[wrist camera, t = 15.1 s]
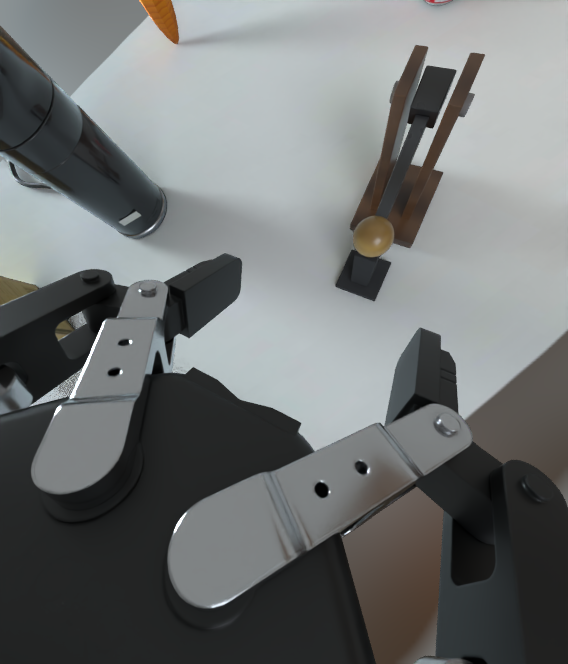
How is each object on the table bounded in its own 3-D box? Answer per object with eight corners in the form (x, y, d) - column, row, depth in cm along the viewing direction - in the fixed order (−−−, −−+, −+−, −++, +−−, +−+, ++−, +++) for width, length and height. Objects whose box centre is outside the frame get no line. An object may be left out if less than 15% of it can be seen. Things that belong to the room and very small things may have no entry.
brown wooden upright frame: (409, 248, 34) (470, 146, 18) (349, 229, 36) (359, 122, 20) (439, 178, 34) (523, 23, 19) (379, 163, 36) (409, 11, 21)
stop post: (335, 287, 35) (335, 261, 27) (351, 251, 35) (355, 215, 27) (374, 301, 34) (386, 279, 26) (390, 264, 34) (407, 230, 26)
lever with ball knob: (383, 263, 26) (384, 261, 23) (348, 252, 27) (344, 248, 24) (456, 97, 22) (470, 64, 19) (412, 89, 23) (418, 57, 20)
